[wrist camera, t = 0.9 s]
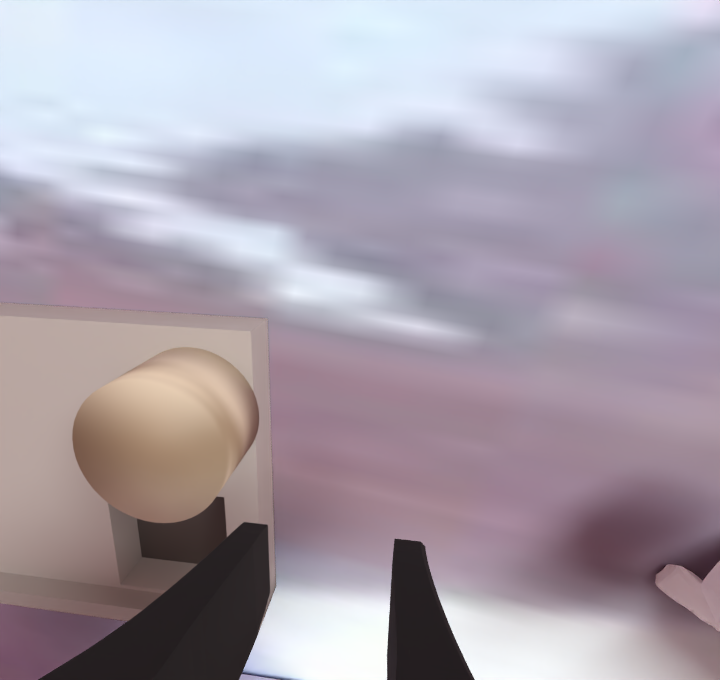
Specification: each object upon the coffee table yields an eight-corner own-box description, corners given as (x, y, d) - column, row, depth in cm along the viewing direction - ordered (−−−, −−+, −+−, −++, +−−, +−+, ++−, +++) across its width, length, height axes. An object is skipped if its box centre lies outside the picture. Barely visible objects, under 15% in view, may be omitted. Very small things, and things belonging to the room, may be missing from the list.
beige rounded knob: (261, 474, 20) (228, 530, 16) (140, 462, 20) (84, 514, 17) (256, 351, 18) (219, 386, 15) (125, 343, 19) (60, 374, 15)
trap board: (275, 586, 24) (251, 649, 20) (-137, 534, 27) (-217, 582, 23) (267, 318, 20) (236, 342, 16) (-220, 289, 22) (-331, 305, 19)
